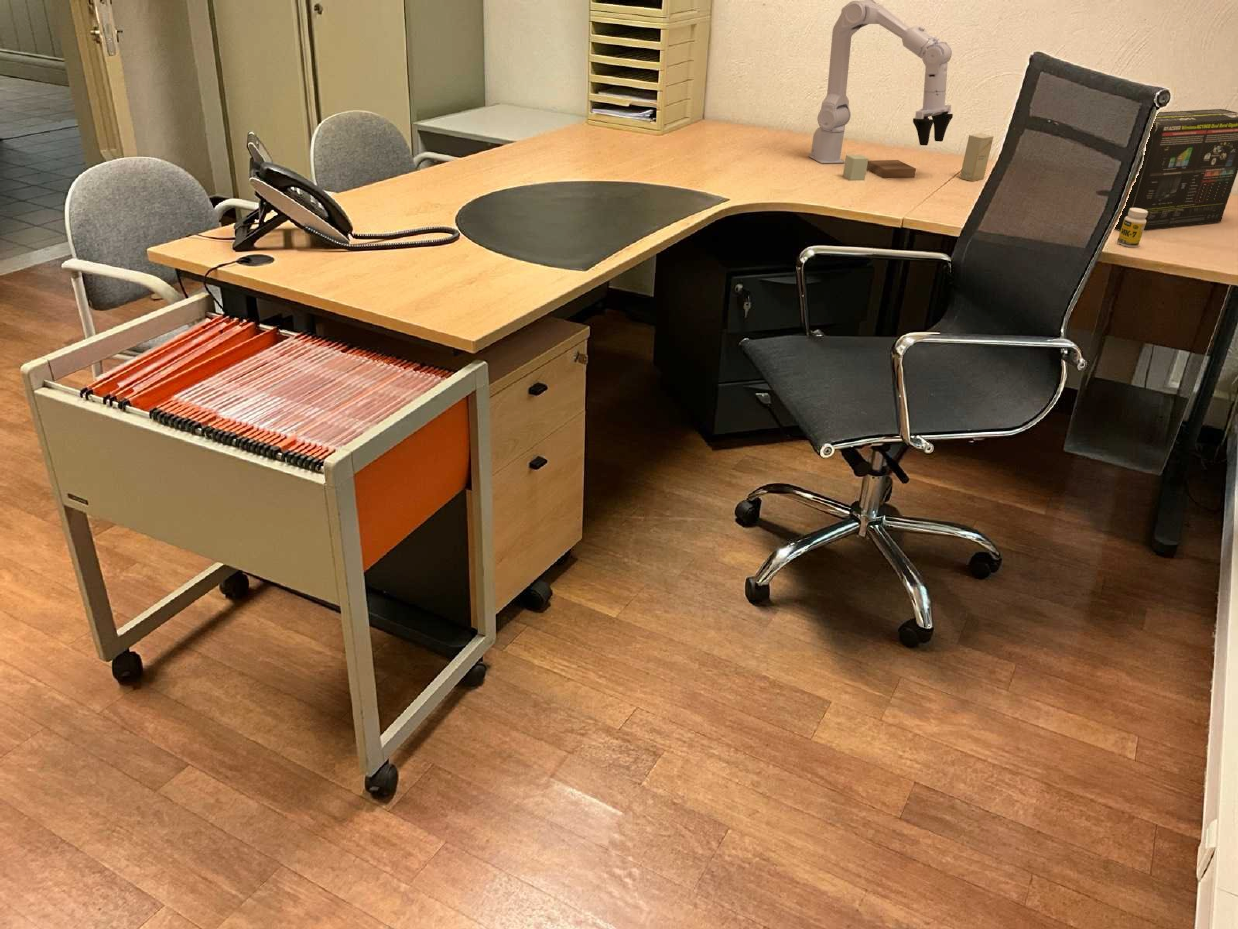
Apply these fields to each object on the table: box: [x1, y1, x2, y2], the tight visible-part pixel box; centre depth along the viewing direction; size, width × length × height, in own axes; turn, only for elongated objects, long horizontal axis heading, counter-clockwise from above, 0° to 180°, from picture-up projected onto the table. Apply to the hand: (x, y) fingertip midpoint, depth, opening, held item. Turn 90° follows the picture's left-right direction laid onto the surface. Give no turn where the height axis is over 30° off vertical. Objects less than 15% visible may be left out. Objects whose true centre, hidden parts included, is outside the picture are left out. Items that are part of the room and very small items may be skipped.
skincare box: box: [959, 133, 994, 182], centre depth 281 cm, size 6×4×12 cm
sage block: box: [842, 154, 869, 182], centre depth 276 cm, size 4×4×6 cm
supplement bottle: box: [1116, 208, 1148, 248], centre depth 234 cm, size 5×5×8 cm
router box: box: [1114, 108, 1238, 231], centre depth 248 cm, size 36×11×27 cm, turn 114°
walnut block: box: [866, 159, 917, 180], centre depth 284 cm, size 10×10×3 cm
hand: (931, 143), depth 274 cm, fingers open, 7 cm apart
